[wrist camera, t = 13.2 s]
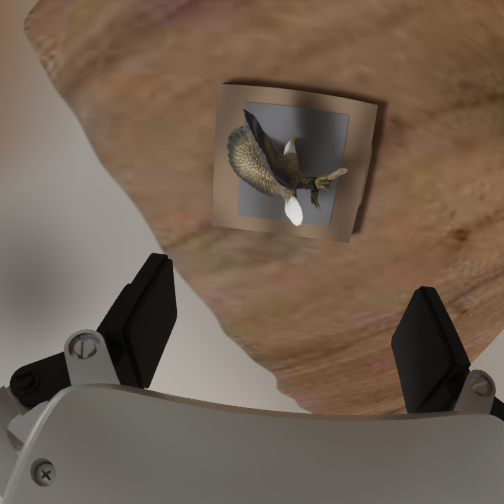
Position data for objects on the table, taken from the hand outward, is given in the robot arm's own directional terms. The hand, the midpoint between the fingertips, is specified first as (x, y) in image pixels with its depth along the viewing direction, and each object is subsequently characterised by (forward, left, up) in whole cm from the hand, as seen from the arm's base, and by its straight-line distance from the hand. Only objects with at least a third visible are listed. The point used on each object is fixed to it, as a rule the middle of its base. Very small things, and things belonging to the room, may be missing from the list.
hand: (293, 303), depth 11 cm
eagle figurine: (+1, -1, -19) cm, 19 cm away
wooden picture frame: (0, 0, -20) cm, 20 cm away
